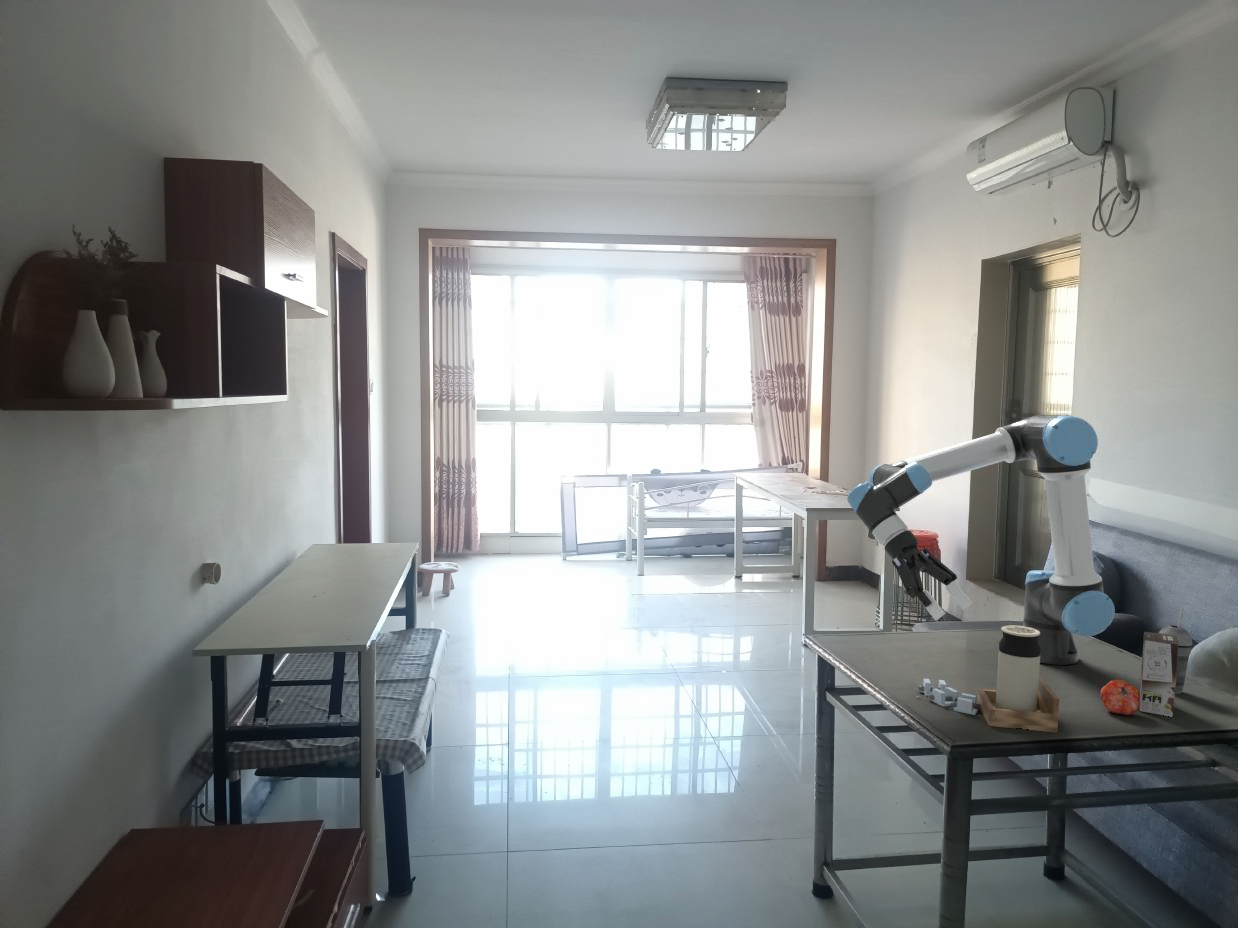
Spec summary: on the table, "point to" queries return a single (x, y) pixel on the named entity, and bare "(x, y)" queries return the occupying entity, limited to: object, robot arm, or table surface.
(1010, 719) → the wooden tray
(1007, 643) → the travel mug
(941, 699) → the cable route
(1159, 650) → the coffee box
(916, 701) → the table surface
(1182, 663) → the beverage cup
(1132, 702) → the pomegranate
